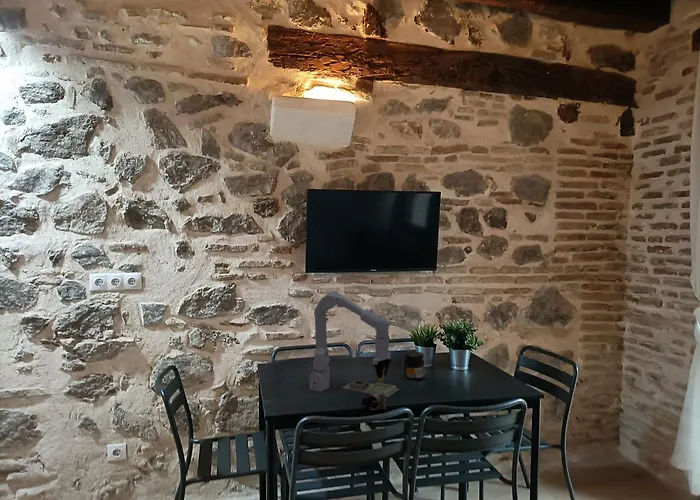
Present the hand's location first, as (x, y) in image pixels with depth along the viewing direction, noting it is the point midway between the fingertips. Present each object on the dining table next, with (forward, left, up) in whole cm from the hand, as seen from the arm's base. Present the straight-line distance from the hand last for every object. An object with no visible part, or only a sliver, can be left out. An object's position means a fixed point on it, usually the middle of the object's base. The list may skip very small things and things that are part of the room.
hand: (381, 376), depth 224 cm
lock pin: (0, +1, -2) cm, 2 cm away
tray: (0, 0, -7) cm, 7 cm away
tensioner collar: (0, +12, -7) cm, 14 cm away
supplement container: (+25, -4, -7) cm, 27 cm away
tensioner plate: (0, +6, -7) cm, 9 cm away
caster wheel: (-18, -5, -8) cm, 20 cm away
